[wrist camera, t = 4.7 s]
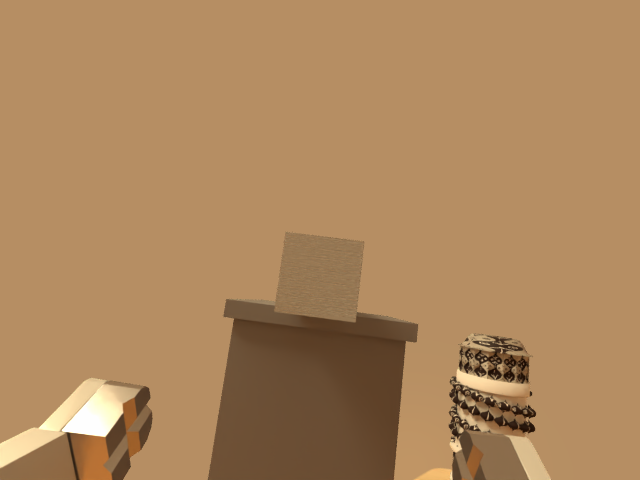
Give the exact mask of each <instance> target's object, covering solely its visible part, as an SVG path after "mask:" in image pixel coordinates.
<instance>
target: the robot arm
mask: <svg viewBox="0 0 640 480" xmlns="http://www.w3.org/2000/svg"><path fill="white" fill-rule="evenodd" d="M149 399H150V392H149V388H148V387H145V386H140V385H134V384H128V383H121V382H116V381H108V380H101V379H95V378H90V379H88V380H86V381H84V382H83V383H82V384H81V385H80V386H79V387H78V388H77V389H76V390H75V391H74V392H73V393H72V395H70V396H69V398H68V399H67V400H66V401H65V402H64V403H63V404H62V405H61V406H60V407H59V408H58V409H57V410H56V411H55V412H54V413H53V414H52V415H51V416H50V417H49V418H48V419H47V420H46V421H45V422H44V423H43V424H42V425H41V426H40V427H39V428H31V429H29V430H27V431H25V432H23V433H21V434H19V435H17V436H15V437H13V438H11V439H9V440H7V441H5V442H3V443H1V444H0V480H123V479H124V477H125V475H126V474H127V472H128V470H129V469H130V467H131V466H130V457H131V456H133V455H134V454H136V453H137V452H139V451H140V450H141V449H142V447H143V445H144V444H145V442H146V440H147V438H148V435H149V432H150V429H151V424H152V411H151V410H150V409H149V407H148V406H147V405H146V404H147V402H148V401H149ZM459 442H460V445H461V448H462V449H461V450H460V451H458V452H457V453H455V456H454V460H453V464H452V478H453V480H551V478H550V476H549V474H548V472H547V471H546V469H545V467H544V465H543V463H542V461H541V460H540V458H539V456H538V454H537V452H536V450H535V448H534V446H533V444H532V443H531V441H530V440H529V439H528V438H526V437H518V436H510V435H503V434H495V433H487V432H479V431H471V430H464V431H463V432H462V434H461V437H460V440H459Z"/></svg>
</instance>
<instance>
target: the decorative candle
mask: <svg viewBox="0 0 640 480" xmlns="http://www.w3.org/2000/svg"><path fill="white" fill-rule="evenodd" d="M459 345H460V355H459V369H457V378H456V377H452V379H451V380H450V383H451V384H452V385H453V387H454V388H453V389H452V390H451V392H450V394H449V395H450V397H451V398H452V401H453V402H454V403H456V405H453V406H452V407H451V410H450V412H449V414H450V415H451V416H452V420H451V423H450V424H449V428H450V429H451V433H452V434H453V435H454V436H452V437H451V439H452V440H451V441H450V447H451V448H452V450H453V460H454V456H455V453H457V452H458V451H460V450H461V449H462V448H461V445H460V442H459V440H460V437H461V434H462V432H463V431H464V430H471V431H479V432H487V433H495V434H503V435H510V436H518V437H525V432H528V433H530V432H534V431H535V427H534V425H533V424H532V423H530V422H526V417H529V418H531V417H535V416H536V412H535V411H534V410H533V409H532V408H531V407H529V405H528V407H527V406H526V398H527V397H530V396H531V395H532V392H531V391H530V382H529V381H528V376H529V357H531V356H532V355H529V354H528V353H527V351H526V350H525V348H524V346H523V344H522V343H521V342H520V341H518V340H515V339H510V338H505V337H498V336H490V335H483V334H471V335H469V336H468V337H467V339H466V340H465V341H464V343H461V344H459ZM532 357H533V356H532ZM455 426H456V427H455ZM450 480H453V478H452V471H451V473H450Z"/></svg>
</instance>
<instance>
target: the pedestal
mask: <svg viewBox="0 0 640 480" xmlns="http://www.w3.org/2000/svg"><path fill="white" fill-rule="evenodd" d="M274 309H275V302H274V301H265V300H241V299H239V300H238V299H227V300H226V305H225V311H224V317H229V318H234V322H233V329H232V335H231V341H230V347H229V353H228V359H227V366H226V372H225V378H224V384H223V390H222V396H221V403H220V409H219V415H218V421H217V427H216V434H215V440H214V446H213V452H212V458H211V464H210V470H209V477H208V480H394V470H395V459H396V447H397V435H398V424H399V412H400V401H401V388H402V377H403V366H404V354H405V343H406V341H410V342H417V331H418V324H415V323H411V322H408V321H404V320H399V319H396V318H392V317H388V316H381V315H374V314H366V313H358V312H357V313H356V322H348V321H340V320H333V319H325V318H318V317H310V316H302V315H295V314H287V313H280V312H274Z"/></svg>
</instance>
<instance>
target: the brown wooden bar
mask: <svg viewBox="0 0 640 480" xmlns="http://www.w3.org/2000/svg"><path fill="white" fill-rule="evenodd" d="M363 249H364V241H354V240H347V239H338V238H331V237H322V236H314V235H306V234H298V233H288V232H286V233H285V240H284V247H283V254H282V261H281V267H280V274H279V281H278V288H277V295H276V302H275V309H274V312H280V313H287V314H295V315H302V316H310V317H318V318H325V319H333V320H340V321H348V322H356V313H357V304H358V294H359V285H360V277H361V268H362V258H363Z"/></svg>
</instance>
